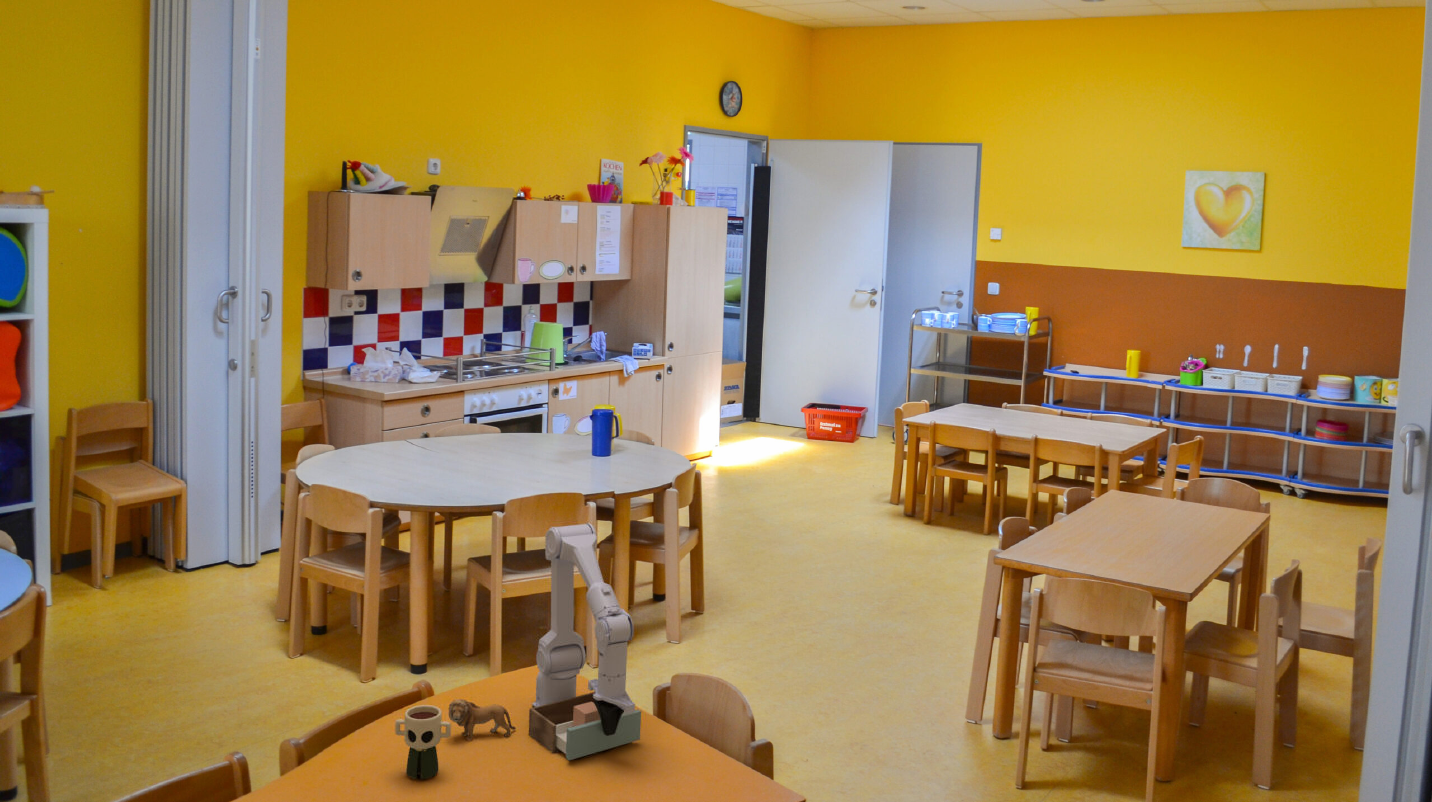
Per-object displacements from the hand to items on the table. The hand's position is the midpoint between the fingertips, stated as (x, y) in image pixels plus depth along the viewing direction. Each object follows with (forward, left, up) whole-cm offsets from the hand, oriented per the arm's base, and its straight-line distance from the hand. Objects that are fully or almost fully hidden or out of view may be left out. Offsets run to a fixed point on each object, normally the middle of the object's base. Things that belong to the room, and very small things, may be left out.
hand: (609, 733), depth 244 cm
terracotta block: (-8, 0, -3) cm, 9 cm away
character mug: (-14, -35, -5) cm, 38 cm away
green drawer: (-7, 0, -4) cm, 8 cm away
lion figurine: (-22, -18, -5) cm, 29 cm away
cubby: (-13, 0, -5) cm, 14 cm away
